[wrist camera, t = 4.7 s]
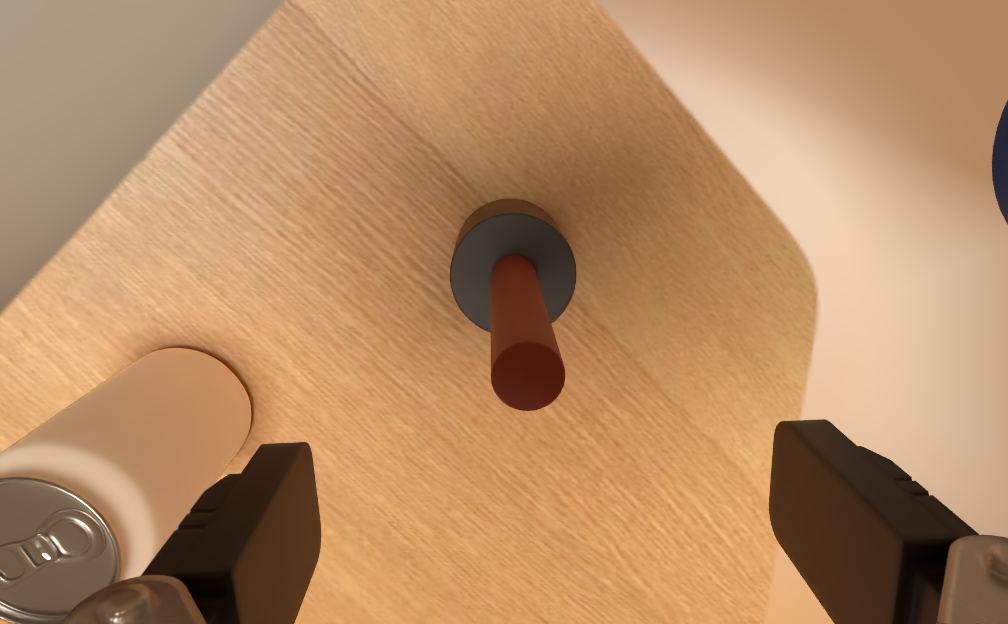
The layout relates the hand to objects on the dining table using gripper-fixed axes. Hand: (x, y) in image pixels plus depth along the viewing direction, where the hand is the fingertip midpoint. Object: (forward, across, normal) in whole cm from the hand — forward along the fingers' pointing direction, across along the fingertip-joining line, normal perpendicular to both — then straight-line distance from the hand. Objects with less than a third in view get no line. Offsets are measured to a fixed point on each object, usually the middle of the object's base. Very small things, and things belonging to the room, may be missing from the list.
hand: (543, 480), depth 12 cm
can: (+21, +16, +7) cm, 27 cm away
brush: (+21, 0, 0) cm, 21 cm away
